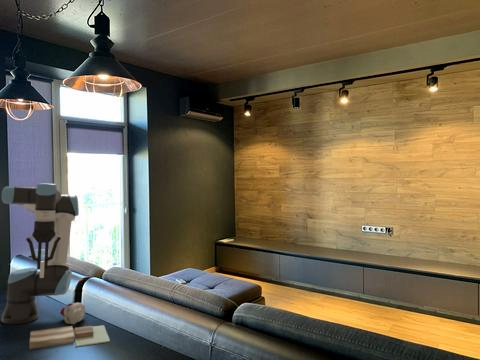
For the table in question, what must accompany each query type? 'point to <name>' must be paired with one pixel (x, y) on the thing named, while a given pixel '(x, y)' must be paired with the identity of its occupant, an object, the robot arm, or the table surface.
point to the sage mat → (93, 337)
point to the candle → (73, 312)
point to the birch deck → (51, 337)
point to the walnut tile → (83, 332)
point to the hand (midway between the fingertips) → (41, 276)
